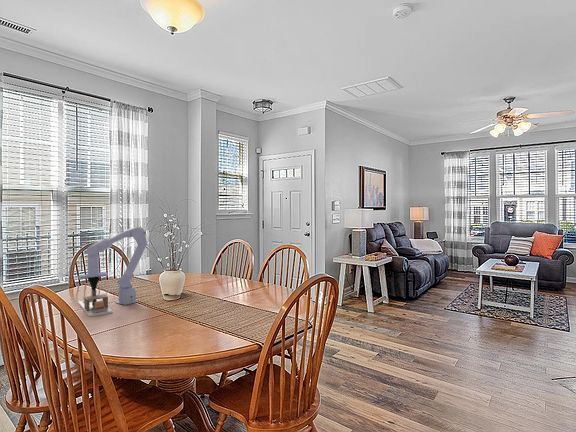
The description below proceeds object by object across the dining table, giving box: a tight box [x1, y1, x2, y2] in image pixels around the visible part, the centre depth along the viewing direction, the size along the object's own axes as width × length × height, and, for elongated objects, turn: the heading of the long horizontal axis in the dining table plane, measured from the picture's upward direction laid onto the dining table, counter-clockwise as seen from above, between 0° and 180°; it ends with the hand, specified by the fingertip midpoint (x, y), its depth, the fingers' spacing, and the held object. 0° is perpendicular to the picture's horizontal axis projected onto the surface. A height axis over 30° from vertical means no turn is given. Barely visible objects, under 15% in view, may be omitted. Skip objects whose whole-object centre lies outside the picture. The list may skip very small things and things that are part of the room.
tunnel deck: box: [77, 293, 113, 318], centre depth 197 cm, size 32×11×7 cm, turn 39°
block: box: [94, 300, 104, 310], centre depth 187 cm, size 4×4×4 cm
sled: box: [90, 289, 107, 313], centre depth 191 cm, size 16×6×8 cm, turn 39°
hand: (93, 290), depth 203 cm, fingers closed
